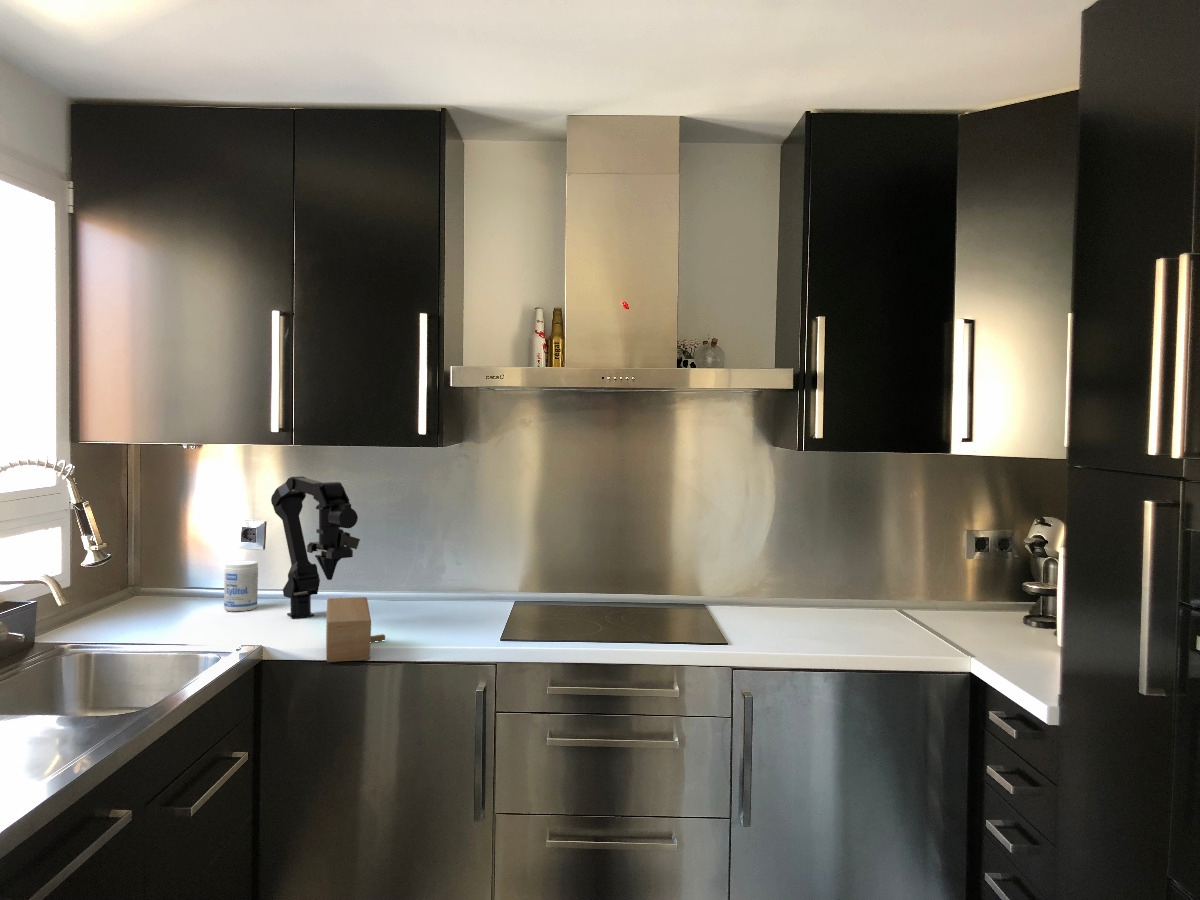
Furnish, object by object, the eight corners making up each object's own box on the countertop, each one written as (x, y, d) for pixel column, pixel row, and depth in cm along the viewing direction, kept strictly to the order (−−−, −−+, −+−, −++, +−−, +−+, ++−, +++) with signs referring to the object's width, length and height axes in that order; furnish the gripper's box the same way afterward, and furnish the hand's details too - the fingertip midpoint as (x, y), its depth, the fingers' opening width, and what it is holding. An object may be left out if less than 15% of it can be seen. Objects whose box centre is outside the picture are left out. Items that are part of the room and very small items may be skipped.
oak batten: (329, 647, 199) (329, 641, 199) (383, 639, 207) (383, 634, 207) (331, 648, 198) (331, 643, 198) (385, 641, 206) (385, 635, 206)
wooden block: (365, 633, 207) (369, 660, 188) (326, 635, 203) (326, 663, 185) (367, 596, 206) (371, 620, 187) (327, 597, 203) (327, 622, 184)
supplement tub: (222, 613, 237) (222, 565, 237) (225, 607, 246) (225, 560, 246) (257, 611, 241) (257, 563, 241) (258, 604, 250) (258, 559, 249)
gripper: (370, 526, 222) (370, 580, 222) (342, 521, 236) (342, 572, 236) (332, 529, 214) (332, 585, 214) (306, 523, 228) (306, 576, 228)
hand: (329, 579), depth 223 cm, fingers closed
